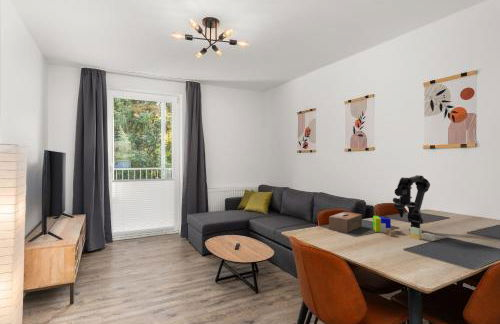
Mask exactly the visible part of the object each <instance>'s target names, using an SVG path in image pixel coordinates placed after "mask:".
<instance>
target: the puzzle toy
mask: <svg viewBox="0 0 500 324" xmlns="http://www.w3.org/2000/svg"><path fill="white" fill-rule="evenodd" d="M391 220H392V219H391V218H390V217H389V216H387V215H385V216H384V215H373V216H372V229H373V231H374V230H375V231H374V232H375V233H384V234H385V229H390V230H392V229H391V225H392V223H391V222H392V221H391Z"/></svg>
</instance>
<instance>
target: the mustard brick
mask: <svg viewBox="0 0 500 324" xmlns="http://www.w3.org/2000/svg"><path fill="white" fill-rule="evenodd" d="M409 238H411V239H414V240H418V241H419V240H422V239H423V233H422V234H420V235H418V234H414V233H410V232H409Z"/></svg>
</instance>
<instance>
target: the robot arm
mask: <svg viewBox="0 0 500 324" xmlns="http://www.w3.org/2000/svg"><path fill="white" fill-rule="evenodd" d="M414 184H415V187H416V190H417V191H416V194H415V199H414V201H412V199H413V196H411V195H412V194H411V193H412V192H411V190H412V186H413V185H414ZM430 187H431V183H430V182H429V180H428V179H426V178H425V177H424V175H418V174H416V175H414V176H410V177H400V179H399V181H398V184H397V188H395V189H394V194H395V196H397V197H399V198H397V197H393V198H392V202H393V208H395V209H396V210H397V211H398V213H399V216H400V218H403V217H404V213H405V209H406V208H405V207H407V209H408V212H407V217H406V218H407V220H408V223H409V222H410V227H416V228H420V229H421V224H424V219H423V217H422V212H421V208H422V205H423V201H424V198H425V193H427V192H428V191H429V189H430ZM408 231H410V228H409V229H408Z"/></svg>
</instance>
